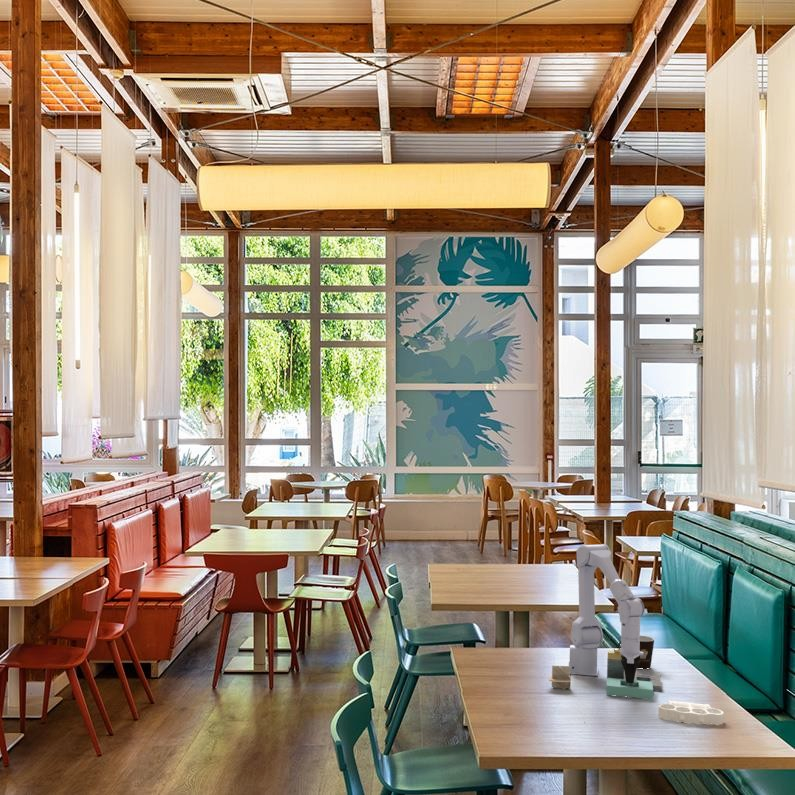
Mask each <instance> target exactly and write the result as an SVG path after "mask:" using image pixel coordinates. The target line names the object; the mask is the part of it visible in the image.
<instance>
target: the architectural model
mask: <svg viewBox="0 0 795 795" xmlns="http://www.w3.org/2000/svg"><path fill="white" fill-rule="evenodd" d="M569 669H570V666H569V665H568V666H567V665H552V666H551V677H550V676H548V681H549V682H551V688H552V687H558V688H557V689H563V690H566V689H569V688H570V689H572V686H571V682H572V678H571V676H570V673H569ZM559 687H560V688H559ZM561 687H562V688H561ZM570 689H569V690H570Z"/></svg>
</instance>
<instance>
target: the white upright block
mask: <svg viewBox="0 0 795 795" xmlns="http://www.w3.org/2000/svg"><path fill="white" fill-rule="evenodd" d="M637 674H638V669H637V670H636V673H635V678H634V682H633V683H626V678H625V671H624V686H633V687H637Z"/></svg>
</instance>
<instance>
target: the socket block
mask: <svg viewBox="0 0 795 795" xmlns="http://www.w3.org/2000/svg"><path fill="white" fill-rule="evenodd" d="M606 665H607V666H606V669H607V670H606V679H607V678H616V679H624V668H623V665H622V663H621V660H616V659H608V657H607V662H606ZM637 680H638V681H649V682H652V685H653V690H660V691H659V692H662V691H663V690H662V681H661V676H660V675H650V674H638V673H637Z"/></svg>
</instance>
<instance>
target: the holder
mask: <svg viewBox="0 0 795 795" xmlns="http://www.w3.org/2000/svg"><path fill="white" fill-rule="evenodd" d="M609 695H616V696H615V697H619V696H627V697H626V698H630V697H636V698H635V699H640V698H643V699H642V700H651V699H653V700H654V691H653V685H652V682H649V681H638V680H637V687H633V686H624V679H616V678H607V677H606V696H609Z"/></svg>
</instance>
